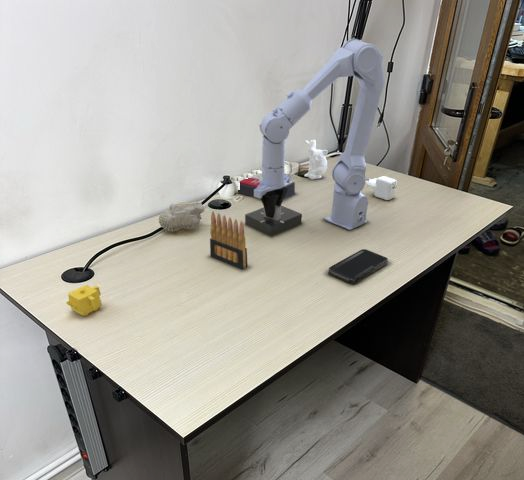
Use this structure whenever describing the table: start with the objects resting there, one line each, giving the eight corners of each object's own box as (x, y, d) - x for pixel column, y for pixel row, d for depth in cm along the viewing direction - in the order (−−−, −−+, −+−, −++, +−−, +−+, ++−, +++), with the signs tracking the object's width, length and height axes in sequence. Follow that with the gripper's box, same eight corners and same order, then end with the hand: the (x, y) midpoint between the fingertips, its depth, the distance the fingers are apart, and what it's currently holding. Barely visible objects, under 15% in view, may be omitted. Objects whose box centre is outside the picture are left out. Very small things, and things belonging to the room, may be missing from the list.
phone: (326, 268, 118) (363, 248, 126) (326, 273, 119) (363, 252, 127) (353, 281, 114) (390, 258, 122) (353, 285, 114) (389, 262, 123)
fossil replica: (154, 228, 138) (174, 244, 132) (150, 201, 132) (171, 216, 127) (190, 214, 143) (211, 228, 138) (187, 187, 137) (209, 200, 132)
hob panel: (303, 224, 140) (303, 214, 138) (271, 238, 133) (272, 227, 131) (275, 212, 146) (275, 202, 144) (244, 225, 140) (243, 214, 138)
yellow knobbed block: (80, 324, 102) (75, 303, 99) (64, 314, 105) (57, 294, 101) (112, 307, 107) (107, 287, 104) (95, 298, 110) (90, 278, 106)
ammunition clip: (247, 267, 121) (247, 220, 114) (242, 270, 120) (242, 223, 112) (215, 254, 126) (212, 208, 119) (210, 256, 125) (207, 211, 117)
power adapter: (358, 192, 159) (360, 173, 156) (367, 188, 162) (369, 170, 158) (387, 202, 153) (390, 183, 150) (396, 197, 156) (399, 179, 152)
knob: (280, 218, 136) (281, 205, 134) (277, 220, 135) (277, 208, 132) (267, 214, 138) (267, 201, 136) (263, 216, 137) (263, 204, 135)
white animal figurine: (298, 177, 170) (300, 140, 162) (310, 172, 174) (312, 136, 166) (318, 183, 165) (321, 145, 158) (330, 178, 169) (333, 141, 162)
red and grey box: (258, 171, 163) (295, 179, 155) (258, 184, 165) (295, 193, 158) (236, 180, 156) (273, 189, 148) (237, 194, 159) (274, 204, 151)
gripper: (276, 155, 134) (274, 203, 142) (243, 169, 125) (244, 220, 133) (298, 160, 131) (295, 209, 139) (267, 175, 121) (266, 227, 130)
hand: (272, 215), depth 136 cm, fingers closed on knob, 2 cm apart
